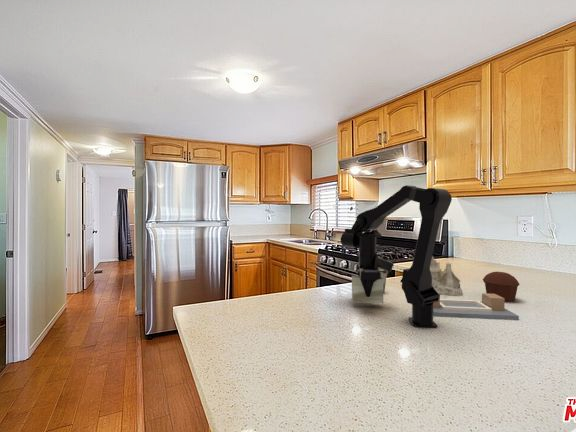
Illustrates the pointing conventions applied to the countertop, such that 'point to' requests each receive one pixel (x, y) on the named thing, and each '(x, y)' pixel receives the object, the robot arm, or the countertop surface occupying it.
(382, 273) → the food container
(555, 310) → the countertop surface
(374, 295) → the sage block
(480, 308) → the board
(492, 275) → the muffin
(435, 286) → the sandcastle
